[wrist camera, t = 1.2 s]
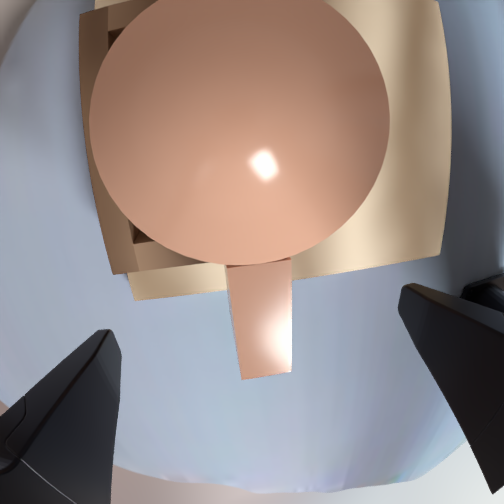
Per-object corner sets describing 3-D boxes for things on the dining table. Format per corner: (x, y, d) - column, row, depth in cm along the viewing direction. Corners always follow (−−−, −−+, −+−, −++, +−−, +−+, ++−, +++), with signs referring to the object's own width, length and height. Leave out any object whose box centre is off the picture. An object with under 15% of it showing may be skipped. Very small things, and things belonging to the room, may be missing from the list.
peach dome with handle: (137, 54, 10) (84, 2, 4) (301, 42, 11) (376, -7, 5) (170, 287, 15) (158, 388, 9) (309, 268, 15) (366, 353, 10)
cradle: (428, 5, 11) (460, -5, 8) (430, 248, 17) (459, 268, 15) (102, -9, 9) (82, -32, 6) (138, 291, 15) (127, 324, 13)
